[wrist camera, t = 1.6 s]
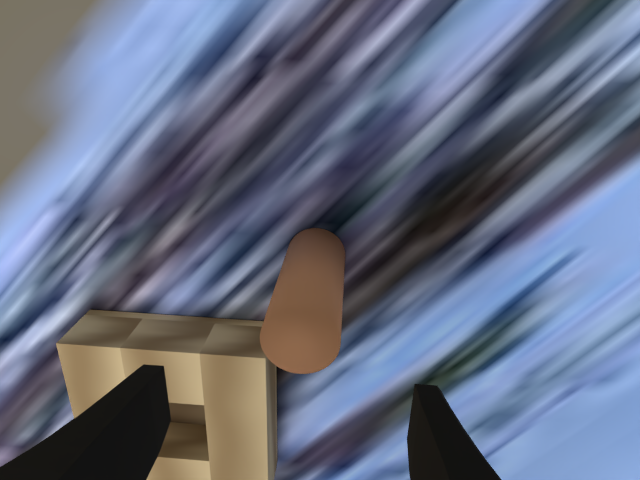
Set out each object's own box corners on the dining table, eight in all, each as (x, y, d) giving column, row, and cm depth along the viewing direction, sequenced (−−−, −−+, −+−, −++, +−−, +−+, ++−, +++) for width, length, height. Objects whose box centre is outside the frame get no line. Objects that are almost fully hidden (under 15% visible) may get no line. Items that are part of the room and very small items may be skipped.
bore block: (276, 321, 24) (265, 358, 21) (277, 461, 28) (268, 507, 25) (89, 309, 24) (56, 343, 22) (117, 447, 28) (91, 491, 26)
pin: (346, 229, 22) (342, 309, 15) (343, 281, 23) (338, 376, 16) (287, 226, 22) (258, 303, 15) (287, 278, 23) (260, 370, 16)
